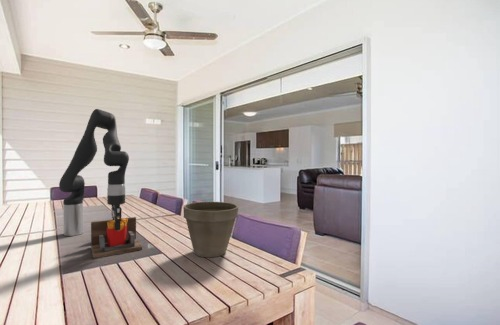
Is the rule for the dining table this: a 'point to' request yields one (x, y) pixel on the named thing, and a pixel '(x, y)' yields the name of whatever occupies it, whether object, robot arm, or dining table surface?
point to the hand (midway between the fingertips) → (116, 228)
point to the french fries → (117, 233)
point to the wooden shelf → (101, 240)
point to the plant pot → (210, 226)
